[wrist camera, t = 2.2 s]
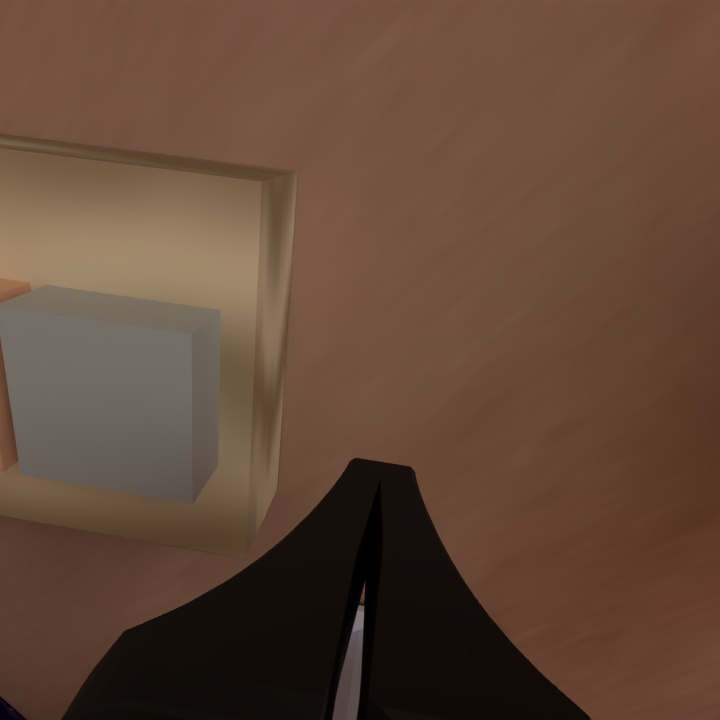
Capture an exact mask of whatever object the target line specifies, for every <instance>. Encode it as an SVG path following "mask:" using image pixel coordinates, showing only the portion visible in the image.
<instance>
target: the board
mask: <svg viewBox="0 0 720 720" xmlns="http://www.w3.org/2000/svg"><path fill="white" fill-rule="evenodd" d="M297 173H298V172H296V171H288V170H280V169H272V168H264V167H256V166H248V165H241V164H233V163H225V162H217V161H209V160H201V159H193V158H185V157H177V156H169V155H162V154H154V153H146V152H138V151H130V150H122V149H114V148H106V147H98V146H91V145H83V144H75V143H67V142H59V141H51V140H43V139H35V138H27V137H19V136H12V135H4V134H0V278H3V279H10V280H17V281H24V282H30V285H31V291H33V290H35V289H38V288H41V287H43V286H46V285H51V286H58V287H65V288H72V289H79V290H85V291H92V292H99V293H106V294H113V295H120V296H127V297H134V298H140V299H147V300H154V301H161V302H168V303H175V304H182V305H189V306H196V307H202V308H209V309H216V310H221V320H220V386H219V452H218V466H217V468H216V469H215V471H214V472H213V474H212V475H211V477H210V478H209V480H208V481H207V483H206V485H205V486H204V488H203V489H202V491H201V492H200V494H199V495H198V497H197V498H196V500H195V501H194V503H193V504H188V503H182V502H176V501H170V500H164V499H158V498H153V497H147V496H141V495H135V494H129V493H123V492H117V491H112V490H106V489H100V488H94V487H88V486H82V485H76V484H70V483H65V482H59V481H53V480H47V479H41V478H35V477H29V476H24V475H21V474H20V468H19V461H17V462H16V463H15V464H13V465H12V466H11V467H10V468H8V469H7V470H6V471H5V472H0V516H5V517H10V518H16V519H22V520H27V521H33V522H39V523H44V524H50V525H56V526H61V527H67V528H73V529H78V530H84V531H90V532H95V533H101V534H107V535H112V536H118V537H124V538H129V539H135V540H141V541H146V542H152V543H158V544H163V545H169V546H175V547H180V548H186V549H192V550H197V551H203V552H209V553H214V554H220V555H226V556H232V557H237V558H243V559H247V556H248V554H249V552H250V550H251V547H252V545H253V543H254V540H255V538H256V536H257V534H258V531H259V529H260V527H261V524H262V522H263V520H264V518H265V515H266V513H267V511H268V508H269V506H270V504H271V502H272V499H273V497H274V495H275V493H276V490H277V485H278V469H279V453H280V438H281V422H282V407H283V391H284V376H285V360H286V344H287V329H288V313H289V298H290V282H291V266H292V251H293V235H294V220H295V204H296V189H297Z"/></svg>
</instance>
